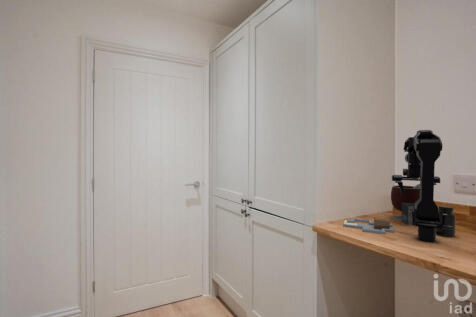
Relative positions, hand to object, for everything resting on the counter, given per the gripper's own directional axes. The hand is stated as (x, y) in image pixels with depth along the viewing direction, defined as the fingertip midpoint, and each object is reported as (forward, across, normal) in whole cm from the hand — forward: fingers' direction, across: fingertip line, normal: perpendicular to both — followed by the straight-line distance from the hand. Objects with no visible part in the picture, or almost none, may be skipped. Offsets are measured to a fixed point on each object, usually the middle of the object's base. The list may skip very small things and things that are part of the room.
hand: (414, 197), depth 128 cm
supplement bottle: (+14, -10, +9) cm, 20 cm away
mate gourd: (+14, +1, -15) cm, 20 cm away
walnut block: (+13, +14, +15) cm, 25 cm away
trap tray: (+14, +19, +15) cm, 28 cm away
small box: (+14, -1, -3) cm, 14 cm away
